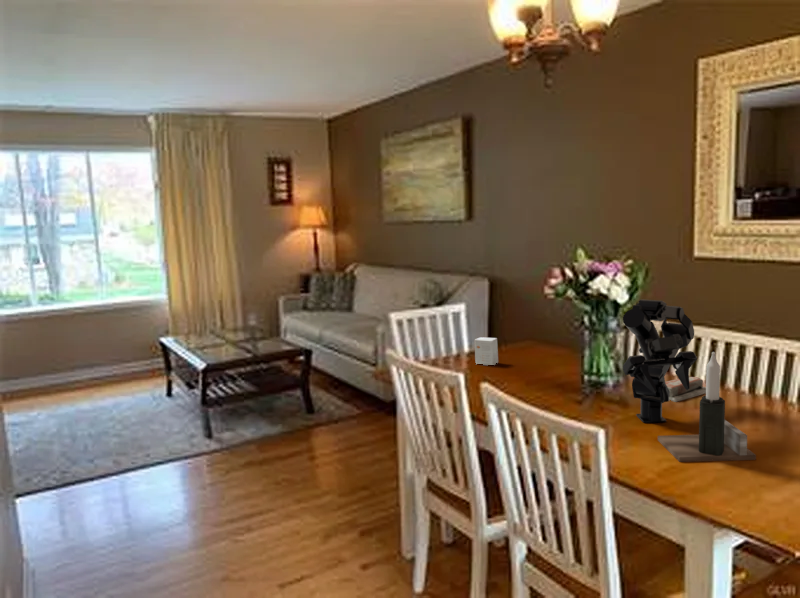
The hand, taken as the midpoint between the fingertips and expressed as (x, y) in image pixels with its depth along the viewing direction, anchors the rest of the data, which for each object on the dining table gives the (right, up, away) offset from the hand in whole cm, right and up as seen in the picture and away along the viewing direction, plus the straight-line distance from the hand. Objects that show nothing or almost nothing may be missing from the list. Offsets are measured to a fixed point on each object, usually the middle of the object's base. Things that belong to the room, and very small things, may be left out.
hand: (671, 390), depth 157 cm
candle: (+6, -14, -9) cm, 17 cm away
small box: (-35, -3, +91) cm, 97 cm away
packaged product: (+21, -8, +40) cm, 46 cm away
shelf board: (+6, -14, -5) cm, 16 cm away
